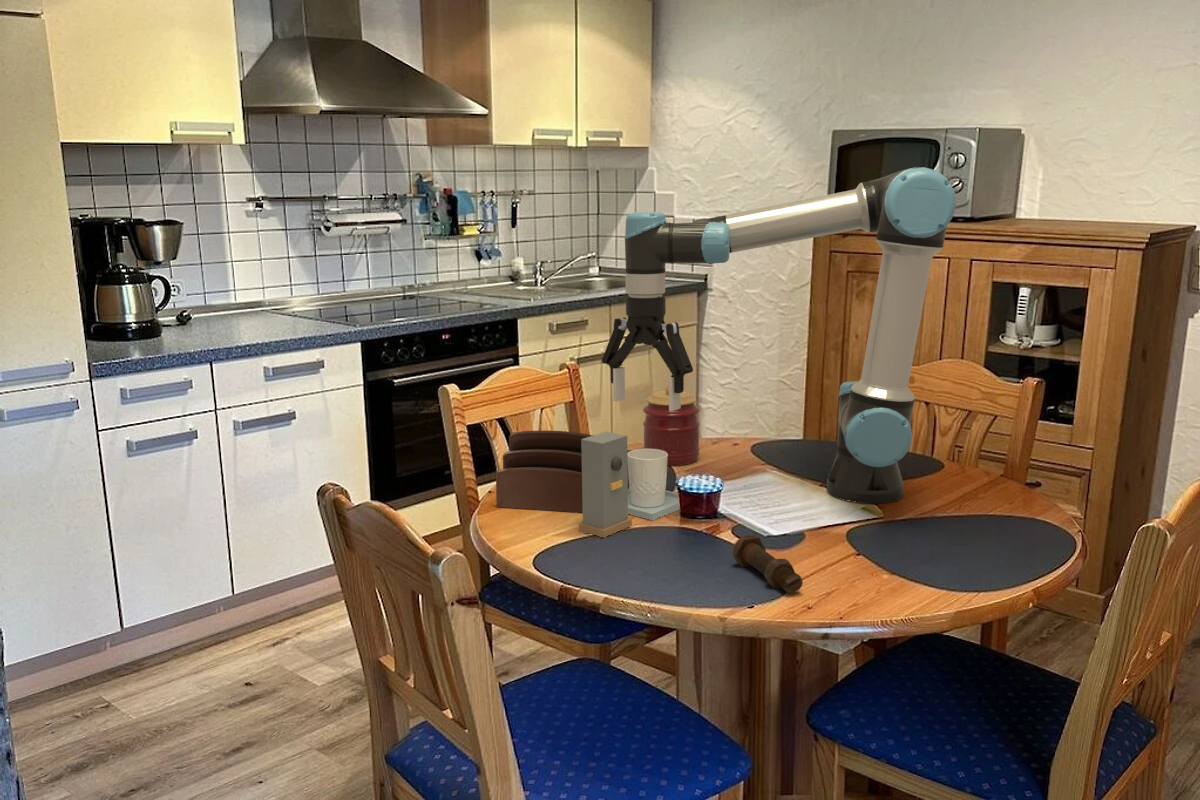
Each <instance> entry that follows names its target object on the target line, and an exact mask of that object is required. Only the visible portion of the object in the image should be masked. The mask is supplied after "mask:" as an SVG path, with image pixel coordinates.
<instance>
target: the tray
mask: <svg viewBox="0 0 1200 800" xmlns="http://www.w3.org/2000/svg"><path fill="white" fill-rule="evenodd" d="M678 493H679V492H674V491H671V490H666V489H665V503H664V504H663V505H661V506H657V507H650V508H648V507H638V506H635V505H633V504H631V499H630V489H629V488H628V514H631V515H630V516H632V515H635V516H638V517H637V518H639V517H643V518H646V519H645V520H647V519H649V520H648V521H651V520H654V521H656V520H657V518H658V519H660V518H663V517H665V516H667V515H669V513H670V514H672V513H674V512H676V511H678V510H680V509H679V501H678ZM664 515H665V516H664ZM635 516H634V517H635ZM662 516H663V517H662ZM659 517H660V518H659ZM643 518H642V519H643ZM655 519H656V520H655Z"/></svg>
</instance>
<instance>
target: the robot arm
mask: <svg viewBox="0 0 1200 800" xmlns="http://www.w3.org/2000/svg"><path fill="white" fill-rule="evenodd" d="M956 198H957V197H956V192H955V190H954V187H953V186H952V183H951V182H950V181H949V180H948V179H947V178H946V177H945V175H943V174H942V173H941V172H939V171H937V170H934V169H933V168H928V167H925V166H923V167H911V168H905V169H901V170H898V171H896V172H894V173H891V174H887V175H885V176H883V177H880V178H877V179H873V180H872V179H871V180H869V181H864V182H860V183H859V184H858V185H857V187H856V188H854V189H849V190H846V191H841V192H840V191H839V192H836V193H835V192H834V193H831V194H830V193H829V194H824V195H820V196H815V197H809V198H805V199H799V200H795V201H790V202H786V203H785V202H784V203H780V204H779V203H778V204H774V205H769V206H765V207H760V208H759V207H758V208H754V209H749V210H745V211H739V212H733V213H728V214H726V215H725V214H724V215H718V216H714V217H713V216H712V217H709V218H708V217H707V218H706V217H705V218H699V219H695V220H693V221H692V222H679V223H678V222H668V221H667V219H666V214H665V213H664V212H659V211H654V212H653V211H648V212H647V211H643V212H631V213H629V214H627V216H626V217H625V230H624V231H625V232H624V233H625V235H624V236H625V237H624V251H625V253H624V255H625V256H624V260H625V293H626V294H627V295H628V296H627V297H626V298H625V314H626V316H627V318H626V317H625V316H623V317H620V318H618V317H617V318H614V320H613V330H612V333H611V336H610V337H609V340H608V342H607V345H606V348H605V350H604V353H603V355H602V359H601V362H602V364H605V365H607V366H608V367H609V369H610V382H611V383H610V384H612V387H613V388H612V391H613V392H612V393H613V394H612V395H613V399H612V400H613V402H616V403H617V402H620V401H623V400H624V401H625V400H626V377H625V375H626V372H625V371H626V368H625V366H623V365H624V364H623V363H624V362H625V360H626V359H627V358H628V356H629V354H630V353H631V352H632V351H633V349H634V348H635V347H636V345H641V344H643V345H646V346H652V347H653V349H655V350H656V351H657V353H658V354H659V355H660V358H661V359H662V361H663V362H664V363H665V366H666V367H667V368H668V370H669V372H670V373H671V375H670V376H668V385H669V410H670V411H674V410H677V409H680V408H681V393H682V392H683V391H684V389H685V387H684V385H685V382H684V381H685V380H684V379H685V378H684V377H685V375H688V374H690V373H693V371H694V368H693V365H692V363H691V360H690V357H689V355H688V352H687V351H686V347H685V344H684V342H683V339H682V337H681V335H680V326H679V323H678V322H677V321H676V322H671V323H666V322H665V315H666V310H667V309H666V306H667V305H666V302H667V301H666V297H665V296H664V295H663V294H665V293H666V264H706V265H707V264H708V265H714V264H724V263H727V262H728V261H729V259H730V254H732V253H736V252H743V251H747V250H754V249H759V248H764V247H765V248H766V247H770V246H775V245H780V244H781V245H782V244H785V243H790V242H797V241H803V240H807V239H808V240H809V239H814V238H817V237H818V238H819V237H824V236H829V235H835V234H836V235H837V234H841V233H846V232H852V231H857V230H862V231H864V232H866V233H874V232H877V233H876V240H875V242H876V243H877V245H878V246H879V247H880V249H881V250H882V253H881V254H882V255H881V260H880V266H879V273H878V277H877V278H878V279H877V284H876V290H875V295H874V300H873V301H874V302H873V307H872V312H871V313H872V314H871V318H870V323H869V329H868V337H867V341H866V347H865V353H864V359H863V363H862V364H863V365H862V371H861V376H860V379H859V380H857V381H856V380H854V381H853V380H851V381H844V382H843V383H841V384H840V386H839V391H838V394H837V395H838V396H837V397H838V417H837V439H836V441H837V443H836V455H835V458H834V461H833V462H832V463H833V464H832V465H831V468H830V470H829V473H828V477H827V479H826V491H828V492H829V493H830V494H831V495H830V494H829V493H828V492H827V493H828V494H829V495H830V496H832V495H833V496H832V497H834V496H835V497H834V498H836V497H838V498H837V499H839V498H841V499H840V500H842V499H844V500H843V501H846V500H850V501H849V502H851V501H856V502H855V503H858V502H860V503H859V504H886V503H891V502H896V501H898V500H900V499H902V498H903V496H904V481H903V477H902V475H901V474H902V473H901V471H900V467H899V464H898V462H899V461H901V459H903V458H904V457H905V456H906V454H907V453H908V452H909V450H910V448H911V445H912V440H913V434H912V433H913V431H912V426H911V420H912V416H913V410H914V404H915V398H916V396H915V395H914V393H913V392H912V390H911V389H910V387H909V383H910V378H911V374H912V367H913V363H914V357H915V350H916V345H917V341H918V334H919V329H920V326H921V325H920V324H921V319H922V315H923V314H922V313H923V308H924V303H925V297H926V292H927V288H928V287H927V286H928V282H929V275H930V270H931V265H932V260H933V258H934V256H935V255H937V254H938V253H939V252H941V251H942V250H943V248H944V244H945V237H946V233H947V228H948V226H949V224H950V222H951V221H952V219H953V216H954V215H955V211H956V205H957V199H956ZM627 330H628V334H627V335H626V337H625V338H624V336H625V334H626V331H627ZM665 335H666V336H665ZM623 338H624V341H623ZM622 341H623V343H622Z"/></svg>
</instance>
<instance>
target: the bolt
mask: <svg viewBox="0 0 1200 800" xmlns="http://www.w3.org/2000/svg"><path fill="white" fill-rule="evenodd" d="M766 550H767V549H766V548H765V545H764V544H763V542H762V540H761V538H760V537H759V536H758V535H757V534H746V535H742V536H741V537H739V538H738V539H737V540H736V542H735V543H734V546H733V549H732V557H733V558H734V559H735V562H736V563H737V564H738V565H739V566H740V567H742V568H744V567H750V566H751V567H753V568H755V569H757V571H758V572H760V573H761V574H763V576H764V578H765V580H766V582H767V584H768V585H769V586H770V587H772V589H783V590H784V591H785V592H786V593H789V594H794V593H796V592H798V591H799V590H800V589H801V588H802V586H803V582H804V581H803V578H802V576H801V575H800V574H798V573H797V572H795V569H794V567H793V565H792V563H791V562H790V561H789V560H788V559H787V558H775V557H774V556H773V555H771V554H770V553H769V552H768V551H766Z"/></svg>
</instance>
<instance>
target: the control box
mask: <svg viewBox="0 0 1200 800" xmlns="http://www.w3.org/2000/svg"><path fill="white" fill-rule="evenodd" d="M581 447H582V506H583V513H582V522H580V523H578V531H579V532H580V533H583V532H584V533H583V534H587V533H588V534H587V535H590V534H592V535H591V536H593V535H597V536H600V537H606V536H608V535H611V534H613V533H616V532H618V531H620V530H623V529H625V528H627V527H630V526H632V527H633V520H632V518H629V515H628V489H629V488H628V487H629V486H628V484H629V475H628V455H627V454H628V435H626V434H620V433H615V432H611V431H604V432H601V433H598V434H594V436H590V437H587V438H584V439H581ZM630 528H631V527H630ZM627 529H628V528H627ZM625 530H626V529H625ZM623 531H624V530H623ZM620 532H621V531H620ZM618 533H619V532H618ZM616 534H617V533H616ZM613 535H614V534H613ZM597 536H596V537H597ZM611 536H612V535H611ZM600 537H599V538H600ZM606 538H607V537H606Z"/></svg>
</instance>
